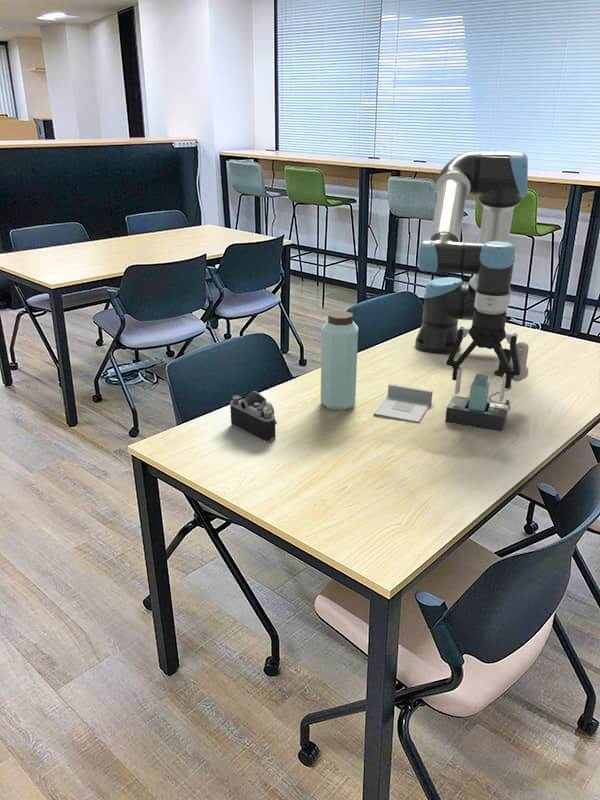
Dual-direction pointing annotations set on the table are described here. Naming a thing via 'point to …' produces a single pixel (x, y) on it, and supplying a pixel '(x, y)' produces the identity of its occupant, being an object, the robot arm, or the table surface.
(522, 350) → the clip-on lamp
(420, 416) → the grey lipped plate
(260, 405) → the camera
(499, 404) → the port
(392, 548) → the table surface
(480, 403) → the plug
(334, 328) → the water bottle
